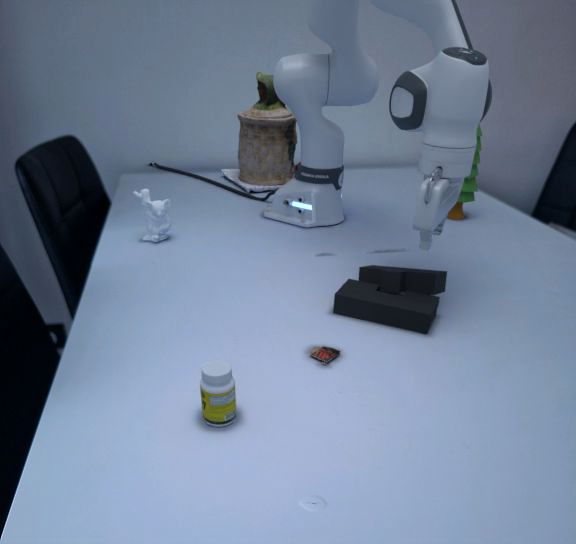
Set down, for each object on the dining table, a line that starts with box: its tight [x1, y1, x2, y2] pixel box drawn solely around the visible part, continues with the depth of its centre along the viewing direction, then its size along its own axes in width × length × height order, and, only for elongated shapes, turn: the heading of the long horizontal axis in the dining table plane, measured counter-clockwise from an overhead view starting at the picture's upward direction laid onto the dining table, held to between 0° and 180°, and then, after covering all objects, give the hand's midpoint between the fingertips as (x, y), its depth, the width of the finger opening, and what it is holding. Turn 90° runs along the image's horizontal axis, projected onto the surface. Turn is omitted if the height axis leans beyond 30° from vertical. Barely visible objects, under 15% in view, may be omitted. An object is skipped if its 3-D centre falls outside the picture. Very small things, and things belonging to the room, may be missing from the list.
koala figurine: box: [133, 188, 173, 243], centre depth 128 cm, size 8×7×12 cm
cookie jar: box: [221, 70, 298, 194], centre depth 170 cm, size 25×25×32 cm
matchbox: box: [309, 345, 341, 366], centre depth 88 cm, size 5×5×1 cm
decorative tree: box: [446, 123, 483, 221], centre depth 144 cm, size 10×9×30 cm
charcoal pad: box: [332, 278, 441, 335], centre depth 100 cm, size 18×8×4 cm, turn 65°
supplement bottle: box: [199, 359, 238, 428], centre depth 72 cm, size 5×5×8 cm
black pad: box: [357, 264, 448, 296], centre depth 104 cm, size 16×8×4 cm, turn 56°
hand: (430, 241), depth 98 cm, fingers open, 8 cm apart
